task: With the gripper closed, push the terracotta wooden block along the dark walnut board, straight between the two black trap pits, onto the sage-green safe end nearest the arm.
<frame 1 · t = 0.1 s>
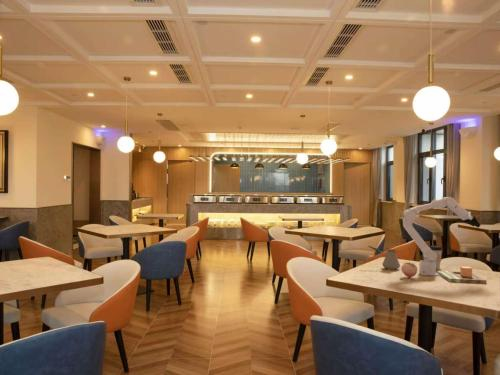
hand: (477, 225, 250), 32 cm above the table, tool tilted 50°, fingers open, 7 cm apart
trap board: (460, 278, 244), on the table
block: (466, 275, 244), point 2 cm above the table, touching trap board
coffee pot: (383, 268, 272), on the table
decorative fruit: (409, 278, 244), on the table
coffee cup: (434, 268, 277), on the table
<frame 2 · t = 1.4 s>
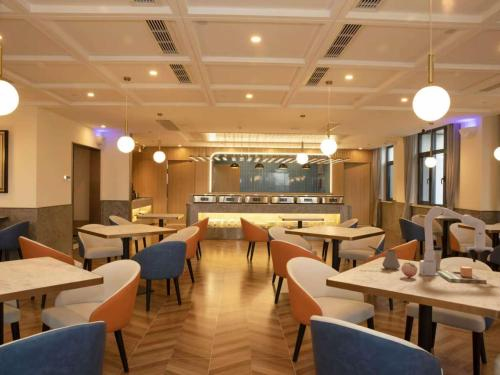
hand: (479, 262, 242), 10 cm above the table, tool pointing down, fingers open, 5 cm apart
nothing on the table moved.
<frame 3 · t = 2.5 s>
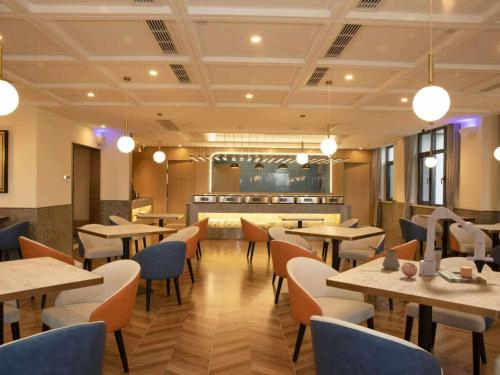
hand: (479, 272, 242), 4 cm above the table, tool pointing down, fingers closed
nothing on the table moved.
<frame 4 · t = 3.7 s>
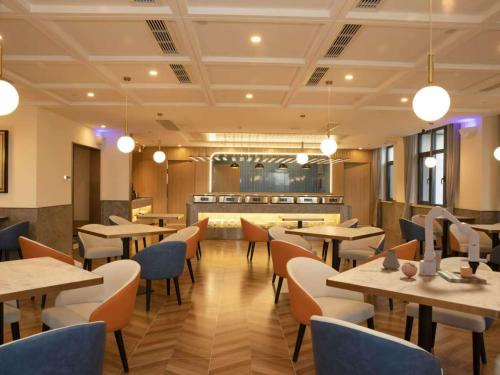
hand: (473, 273, 243), 3 cm above the table, tool pointing down, fingers closed
block: (466, 275, 244), point 2 cm above the table, touching gripper, trap board
everything else where it was.
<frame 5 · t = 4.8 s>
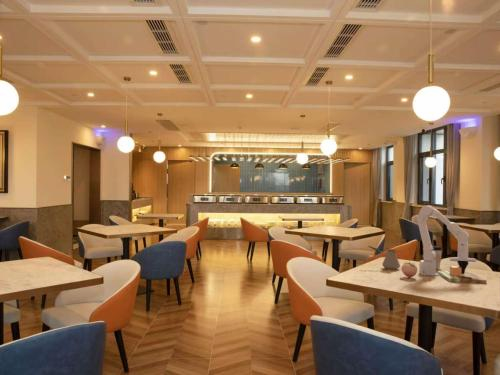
hand: (462, 273, 244), 3 cm above the table, tool pointing down, fingers closed
block: (455, 274, 244), point 2 cm above the table, touching gripper, trap board
everything else where it was.
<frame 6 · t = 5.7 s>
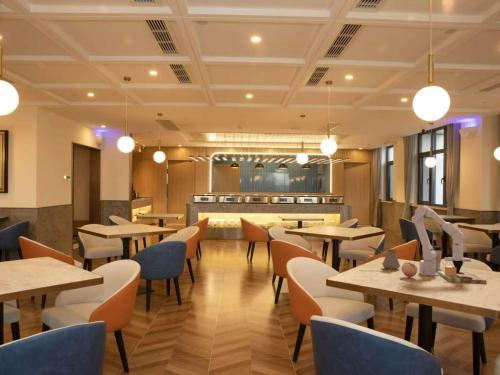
hand: (457, 273, 244), 3 cm above the table, tool pointing down, fingers closed
block: (450, 274, 245), point 2 cm above the table, touching gripper, trap board
everything else where it was.
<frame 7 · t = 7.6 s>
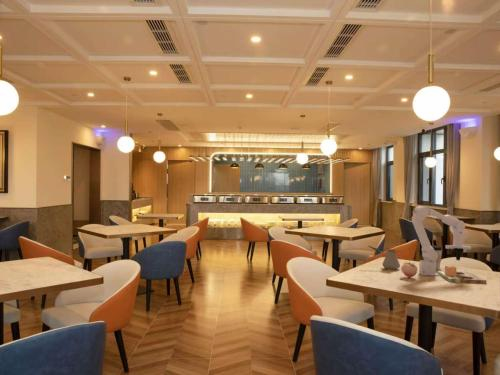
hand: (458, 260, 255), 9 cm above the table, tool pointing down, fingers closed
block: (450, 274, 245), point 2 cm above the table, touching trap board
everything else where it was.
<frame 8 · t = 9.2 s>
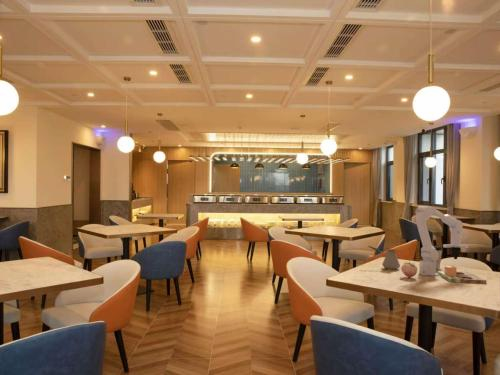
hand: (455, 258, 260), 9 cm above the table, tool pointing down, fingers closed
nothing on the table moved.
at the end: block 0.4 cm from the target spot on the trap board, point 2.0 cm above the trap board's base; block point 2.0 cm above the table; block tilted 0° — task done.
